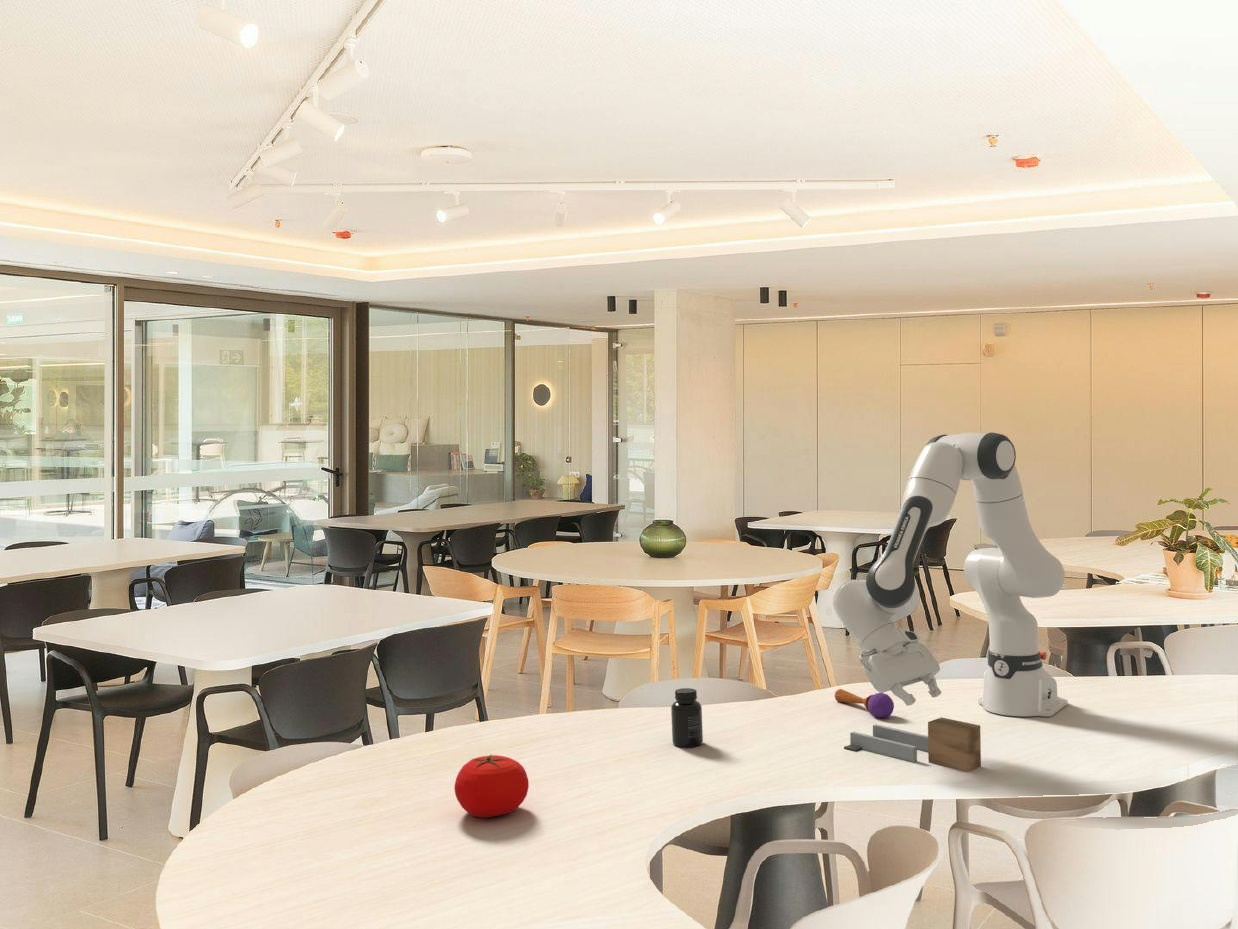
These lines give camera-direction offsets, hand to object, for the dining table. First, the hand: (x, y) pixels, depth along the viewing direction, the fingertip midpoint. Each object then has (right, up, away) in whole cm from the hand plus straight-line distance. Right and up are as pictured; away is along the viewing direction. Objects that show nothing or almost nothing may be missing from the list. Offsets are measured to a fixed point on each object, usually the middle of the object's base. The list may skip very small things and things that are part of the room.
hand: (925, 699), depth 227 cm
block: (+5, -12, -5) cm, 14 cm away
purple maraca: (-4, -11, +39) cm, 41 cm away
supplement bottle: (-49, -13, +14) cm, 53 cm away
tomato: (-88, -16, -26) cm, 93 cm away
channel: (-5, -12, +6) cm, 15 cm away
